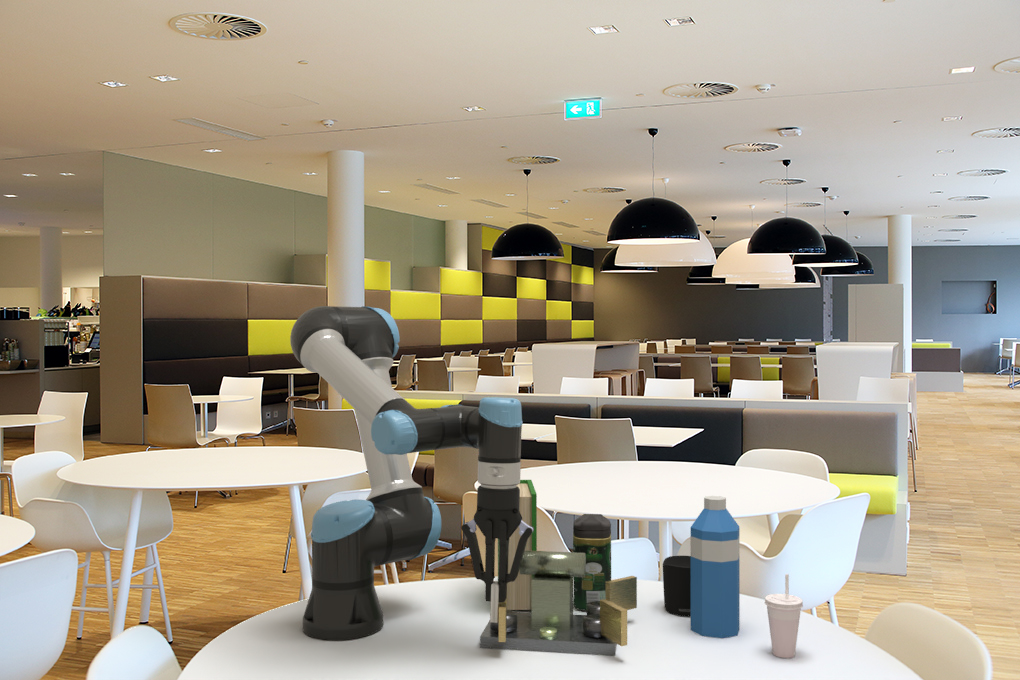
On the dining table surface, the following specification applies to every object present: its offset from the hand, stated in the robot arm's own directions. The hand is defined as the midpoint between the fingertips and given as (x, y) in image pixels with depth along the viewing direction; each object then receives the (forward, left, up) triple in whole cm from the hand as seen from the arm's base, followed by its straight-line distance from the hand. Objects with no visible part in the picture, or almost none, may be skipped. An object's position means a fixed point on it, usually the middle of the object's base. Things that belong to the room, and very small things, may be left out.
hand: (495, 620), depth 154 cm
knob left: (+1, +3, -4) cm, 5 cm away
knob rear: (+20, +17, -4) cm, 26 cm away
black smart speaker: (+34, +30, -6) cm, 45 cm away
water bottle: (+39, +19, -6) cm, 43 cm away
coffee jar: (+15, +30, -6) cm, 34 cm away
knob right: (+19, +4, -4) cm, 20 cm away
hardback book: (-1, +31, -6) cm, 31 cm away
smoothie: (+50, +8, -6) cm, 51 cm away
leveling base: (+9, +10, -6) cm, 14 cm away
